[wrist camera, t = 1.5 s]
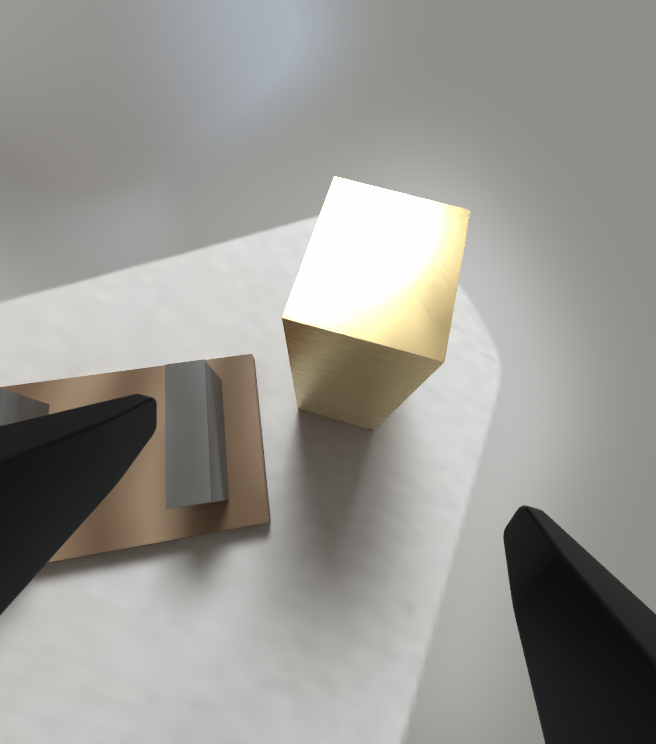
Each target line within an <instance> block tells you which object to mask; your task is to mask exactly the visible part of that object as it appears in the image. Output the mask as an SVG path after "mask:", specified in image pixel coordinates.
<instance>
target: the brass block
mask: <svg viewBox="0 0 656 744" xmlns="http://www.w3.org/2000/svg"><path fill="white" fill-rule="evenodd" d="M469 215H470V210H467V209H463V208H459V207H455V206H451V205H446V204H443V203H439V202H435V201H431V200H427V199H422V198H419V197H414V196H410V195H406V194H402V193H398V192H394V191H390V190H386V189H382V188H378V187H374V186H370V185H366V184H362V183H358V182H354V181H350V180H346V179H342V178H338V177H334V179H333V182H332V185H331V187H330V190H329V192H328V195H327V198H326V201H325V203H324V206H323V209H322V212H321V214H320V217H319V219H318V222H317V225H316V227H315V230H314V233H313V236H312V238H311V241H310V244H309V246H308V249H307V252H306V254H305V257H304V260H303V263H302V265H301V268H300V271H299V273H298V276H297V279H296V281H295V284H294V287H293V290H292V292H291V295H290V298H289V300H288V303H287V306H286V308H285V311H284V314H283V317H282V320H283V326H284V332H285V337H286V343H287V349H288V355H289V360H290V366H291V372H292V377H293V383H294V389H295V395H296V400H297V406H298V409H300V410H304V411H307V412H311V413H314V414H318V415H321V416H325V417H328V418H332V419H335V420H339V421H342V422H346V423H349V424H353V425H356V426H360V427H363V428H367V429H370V430H375V429H376V428H377V427H378V426H379V425H380V424H381V423H382V422H383V421H384V420H385V419H386V418H387V417H388V416H389V415H390V414H391V413H392V412H393V411H394V410H395V409H396V408H397V407H398V406H400V405H401V404H402V403H403V402H404V401H405V400H406V399H407V398H408V397H409V396H410V395H411V394H412V393H413V392H414V391H415V390H416V389H417V388H418V387H419V386H420V385H421V384H422V383H423V382H424V381H425V380H426V379H427V378H428V377H429V376H430V375H431V374H432V373H433V372H435V371H436V370H437V369H438V368H439V367H440V366H441V365H442V364H443V363H444V361H445V355H446V350H447V344H448V338H449V332H450V326H451V320H452V315H453V309H454V303H455V297H456V291H457V285H458V280H459V274H460V267H461V262H462V256H463V250H464V245H465V238H466V233H467V226H468V221H469Z"/></svg>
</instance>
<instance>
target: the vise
mask: <svg viewBox="0 0 656 744" xmlns="http://www.w3.org/2000/svg"><path fill="white" fill-rule="evenodd" d="M137 393H140V394H144V395H147V396H151V397H154V398H155V399H156V402H157V427H156V430H155V432H154V434H153V436H152V437H151V439H150V440H149V441H148V443H147V444H146V445H145V447H144V448H143V450H142V451H141V452H140V454H139V455H138V456H137V458H136V459H135V461H134V462H133V463H132V465H131V466H130V467H129V469H128V470H127V472H126V473H125V474H124V476H123V477H122V478H121V480H120V481H119V482H118V483H117V485H116V486H115V487H114V488H113V490H112V491H111V492H110V493H109V494H108V495H107V496H106V498H105V499H104V500H103V501H102V502H101V503H100V504H99V505H98V506H97V508H96V509H95V510H94V511H93V512H92V513H91V514H90V515H89V517H88V518H87V519H86V520H85V521H84V522H83V523H82V524H81V525H80V527H79V528H78V529H77V530H76V531H75V532H74V533H73V534H72V536H71V537H70V538H69V539H68V540H67V541H66V542H65V543H64V544H63V546H62V547H61V548H60V549H59V550H58V551H57V552H56V553H55V555H54V556H53V557H52V558H51V559H50V560H49V561H48V562H53V561H58V560H64V559H69V558H75V557H80V556H86V555H91V554H97V553H103V552H108V551H114V550H119V549H125V548H130V547H136V546H141V545H147V544H152V543H158V542H163V541H169V540H174V539H180V538H185V537H191V536H196V535H202V534H207V533H213V532H218V531H224V530H229V529H235V528H240V527H246V526H251V525H257V524H262V523H268V522H270V521H271V520H270V510H269V500H268V490H267V480H266V470H265V460H264V450H263V440H262V430H261V420H260V410H259V399H258V389H257V379H256V369H255V360H254V357H253V355H252V354H248V355H240V356H233V357H225V358H218V359H210V360H197V361H190V362H182V363H175V364H167V365H165V366H157V367H150V368H142V369H135V370H127V371H119V372H112V373H104V374H97V375H89V376H82V377H74V378H67V379H59V380H52V381H44V382H37V383H29V384H21V385H14V386H6V387H0V426H2V425H6V424H10V423H15V422H19V421H23V420H27V419H31V418H36V417H40V416H44V415H48V414H52V413H57V412H61V411H65V410H69V409H74V408H78V407H82V406H86V405H90V404H95V403H99V402H103V401H107V400H112V399H116V398H120V397H124V396H128V395H133V394H137Z"/></svg>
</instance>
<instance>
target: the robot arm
mask: <svg viewBox="0 0 656 744" xmlns="http://www.w3.org/2000/svg"><path fill="white" fill-rule="evenodd" d="M156 427H157V402H156V399H155V398H154V397H151V396H147V395H144V394H140V393H137V394H133V395H128V396H124V397H120V398H116V399H112V400H107V401H103V402H99V403H95V404H90V405H86V406H82V407H78V408H74V409H69V410H65V411H61V412H57V413H52V414H48V415H44V416H40V417H36V418H31V419H27V420H23V421H19V422H15V423H10V424H6V425H2V426H0V615H1V614H2V613H3V612H4V610H5V609H6V608H7V607H8V606H9V605H10V604H11V603H12V602H13V600H14V599H15V598H16V597H17V596H18V595H19V594H20V593H21V591H22V590H23V589H24V588H25V587H26V586H27V585H28V584H29V583H30V581H31V580H32V579H33V578H34V577H35V576H36V575H37V574H38V572H39V571H40V570H41V569H42V568H43V567H44V566H45V565H46V563H47V562H48V561H49V560H50V559H51V558H52V557H53V556H54V555H55V553H56V552H57V551H58V550H59V549H60V548H61V547H62V546H63V544H64V543H65V542H66V541H67V540H68V539H69V538H70V537H71V536H72V534H73V533H74V532H75V531H76V530H77V529H78V528H79V527H80V525H81V524H82V523H83V522H84V521H85V520H86V519H87V518H88V517H89V515H90V514H91V513H92V512H93V511H94V510H95V509H96V508H97V506H98V505H99V504H100V503H101V502H102V501H103V500H104V499H105V498H106V496H107V495H108V494H109V493H110V492H111V491H112V490H113V488H114V487H115V486H116V485H117V483H118V482H119V481H120V480H121V478H122V477H123V476H124V474H125V473H126V472H127V470H128V469H129V467H130V466H131V465H132V463H133V462H134V461H135V459H136V458H137V456H138V455H139V454H140V452H141V451H142V450H143V448H144V447H145V445H146V444H147V443H148V441H149V440H150V439H151V437H152V436H153V434H154V432H155V430H156ZM503 538H504V546H505V553H506V560H507V568H508V575H509V583H510V590H511V597H512V603H513V608H514V613H515V618H516V622H517V627H518V631H519V635H520V639H521V643H522V647H523V652H524V656H525V660H526V664H527V668H528V673H529V677H530V681H531V685H532V690H533V694H534V698H535V702H536V706H537V711H538V715H539V719H540V723H541V727H542V732H543V736H544V740H545V744H656V614H655V613H654V612H653V611H652V610H650V609H649V608H648V607H647V606H646V605H645V604H644V603H643V602H642V601H641V600H640V599H639V598H637V597H636V596H635V595H634V594H633V593H632V592H631V591H630V590H629V589H627V588H626V587H625V586H624V585H623V584H622V583H621V582H620V581H619V580H618V579H617V578H616V577H614V576H613V575H612V574H611V573H610V572H609V571H608V570H607V569H606V568H605V567H604V566H602V565H601V564H600V563H599V562H598V561H597V560H596V559H595V558H594V557H593V556H592V555H590V554H589V553H588V552H587V551H586V550H585V549H584V548H583V547H582V546H581V545H579V544H578V543H577V542H576V541H575V540H574V539H573V538H572V537H571V536H570V535H568V534H567V533H566V532H565V531H564V530H563V529H562V528H561V527H560V526H558V524H556V523H555V522H554V521H553V520H552V519H551V518H550V517H549V516H548V515H547V514H545V513H544V512H543V511H541V510H539V509H536V508H533V507H529V506H525V505H524V506H521V507H519V508H518V510H517V511H516V513H515V514H514V516H513V517H512V519H511V520H510V522H509V523H508V525H507V526H506V528H505V530H504V537H503Z"/></svg>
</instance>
